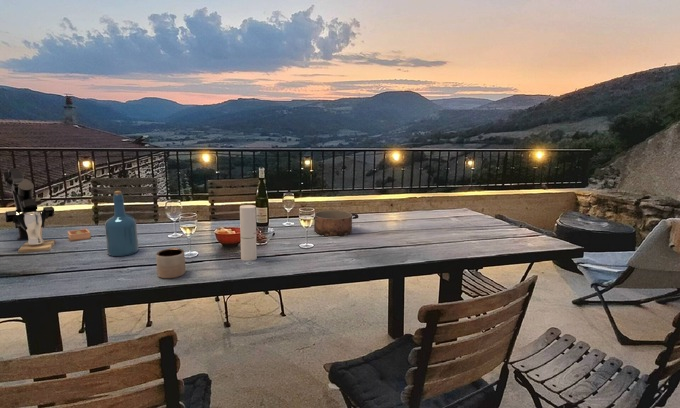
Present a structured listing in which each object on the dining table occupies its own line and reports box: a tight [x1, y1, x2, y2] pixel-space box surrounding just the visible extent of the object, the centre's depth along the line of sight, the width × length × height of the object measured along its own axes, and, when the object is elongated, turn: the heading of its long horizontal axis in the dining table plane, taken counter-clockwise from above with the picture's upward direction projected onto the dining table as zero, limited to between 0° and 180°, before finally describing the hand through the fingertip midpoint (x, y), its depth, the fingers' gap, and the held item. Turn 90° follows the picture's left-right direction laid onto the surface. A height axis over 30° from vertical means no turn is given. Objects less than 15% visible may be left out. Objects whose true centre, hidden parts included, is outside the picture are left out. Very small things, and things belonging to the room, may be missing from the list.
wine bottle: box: [104, 190, 139, 257], centre depth 186 cm, size 14×13×30 cm
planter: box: [155, 248, 187, 280], centre depth 163 cm, size 11×11×10 cm
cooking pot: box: [313, 209, 359, 237], centre depth 233 cm, size 30×22×11 cm
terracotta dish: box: [66, 228, 92, 242], centre depth 210 cm, size 9×9×4 cm
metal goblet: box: [23, 210, 44, 245], centre depth 190 cm, size 7×7×15 cm
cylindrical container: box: [239, 204, 258, 262], centre depth 183 cm, size 7×7×25 cm
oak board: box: [17, 239, 56, 254], centre depth 193 cm, size 14×12×2 cm
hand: (34, 228), depth 189 cm, fingers closed on metal goblet, 6 cm apart
